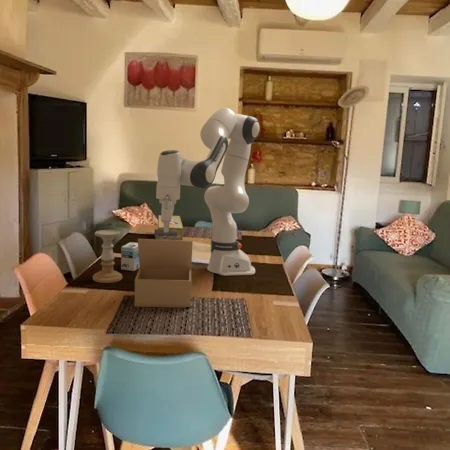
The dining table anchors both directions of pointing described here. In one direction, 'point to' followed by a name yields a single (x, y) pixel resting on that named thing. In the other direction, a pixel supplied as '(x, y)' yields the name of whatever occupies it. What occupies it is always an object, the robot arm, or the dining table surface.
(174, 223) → the soda box
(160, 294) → the carton
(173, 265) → the cardboard box lid
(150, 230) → the dining table surface
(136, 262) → the light bulb box
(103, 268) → the candle holder
